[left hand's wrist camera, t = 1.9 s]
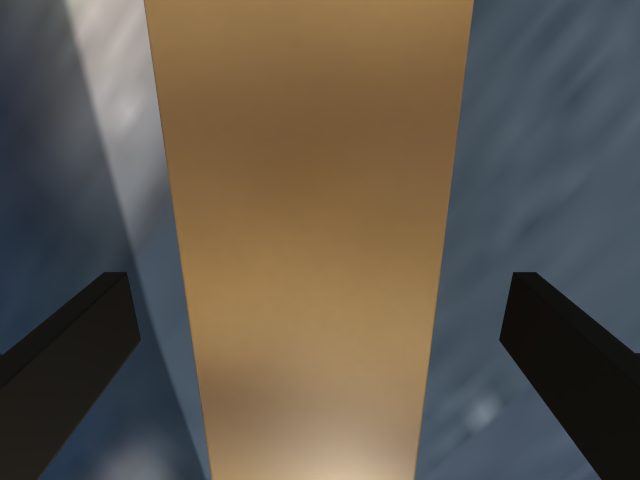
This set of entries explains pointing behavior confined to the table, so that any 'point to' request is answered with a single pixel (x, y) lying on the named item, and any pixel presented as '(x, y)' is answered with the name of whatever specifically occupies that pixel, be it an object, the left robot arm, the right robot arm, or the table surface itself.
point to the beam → (310, 220)
